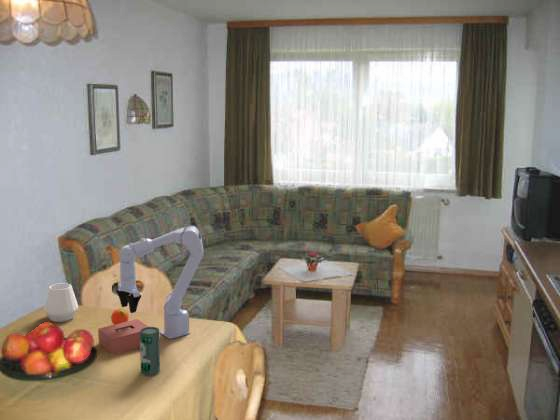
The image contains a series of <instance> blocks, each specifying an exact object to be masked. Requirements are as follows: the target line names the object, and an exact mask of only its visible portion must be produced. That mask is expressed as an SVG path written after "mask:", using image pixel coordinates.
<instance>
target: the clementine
mask: <svg viewBox="0 0 560 420" xmlns="http://www.w3.org/2000/svg"><path fill="white" fill-rule="evenodd" d="M110 319H111V322H112V325H115V324H119V323H123V322H127V321H129V319H130V318H129V313H128V312H127V310H125V309H122V308H117V309H115V310H114V311H113V312H112V314H111V316H110Z"/></svg>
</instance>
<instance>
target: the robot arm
mask: <svg viewBox="0 0 560 420" xmlns="http://www.w3.org/2000/svg"><path fill="white" fill-rule="evenodd" d="M171 243H176V244H179V245H181V244H183V246H185V247H186V248H187V250H188V251H189V253H190V254H189V257H188V259H187V261H186V263H185V265H184V268H183V269H182V271H181V273H180V276H179V278H178V280H177V281H176V284H175V286H174V288H173V290H172V292H170V293H169V294H168V295H167V296H166V298H165V299H166V300H165V303H164V305H163V311H164V312H163V324H164V325H163V326H164V327H163V330H161V331H159V334H161V335H163V336H164V337H165V338H167V339H169V340H171V339H175V338H179V337H182V336H187V335H189V334H191V331H190V315H189V313H188V311H187V310H186V309H182V308H181V306H182V302H183V298H184V297H185V294H186V292H187V290H188V287H189V285H190V283H191V281H192V280H193V277H194V275H195V273H196V271H197V268H198V267H199V265H200V263H201V261H202V259H203V257H204V251H205V250H204V245H203V238H202V234H201V232H200V230H199V229H198V227H197V226H195V225H187V226H186V227H181V228H178V229H175V230H173V231H170V232H168V233H166V234H163V235H161V236H158V237H156V238H154V239H150V238H146V237H143V238H141V239H140V240H139V241H136V242H130V243H129V244H126V245H123V246H122V248H121V249H120V250H119V252H118V255H117V256H118V259H119V264H120V265H119V275H120V276H119V277H120V281H119V282H117V287H118V288H117V289H115V293H116V294H117V296H118V298H119V303H120V304H121V307H122V308H124V307H128V308H129V313H131V314H133V313H137V310H138V306H139V302H140V301H141V299H142V295H141V294H140V291H139V290H138V288H137V286H136V285H137V284H136V283H137V282H136V280H137V279H136V260H135V259H136V258H141V257H143V256H145V255H148V254H151V253H154V250H155V249H156V248H158V247H161V246H164V245H168V244H171Z"/></svg>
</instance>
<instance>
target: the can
mask: <svg viewBox="0 0 560 420" xmlns="http://www.w3.org/2000/svg"><path fill="white" fill-rule="evenodd" d="M160 347H161V346H160V329H159V327H156V326H148V327H145V328H143V329H141V330H140V347H139V350H140V373H141V375H143V376H146V377H148V376H149V377H152V376H156V375H158V374H159V373H160V372H161V358H160V357H161V356H160V355H161V353H160V351H161V350H160Z"/></svg>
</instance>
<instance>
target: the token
mask: <svg viewBox="0 0 560 420" xmlns="http://www.w3.org/2000/svg"><path fill="white" fill-rule="evenodd" d="M130 329H131V328H130V327H129V328H125V329H121V330H117V332H122V331H126V330H130Z"/></svg>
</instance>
